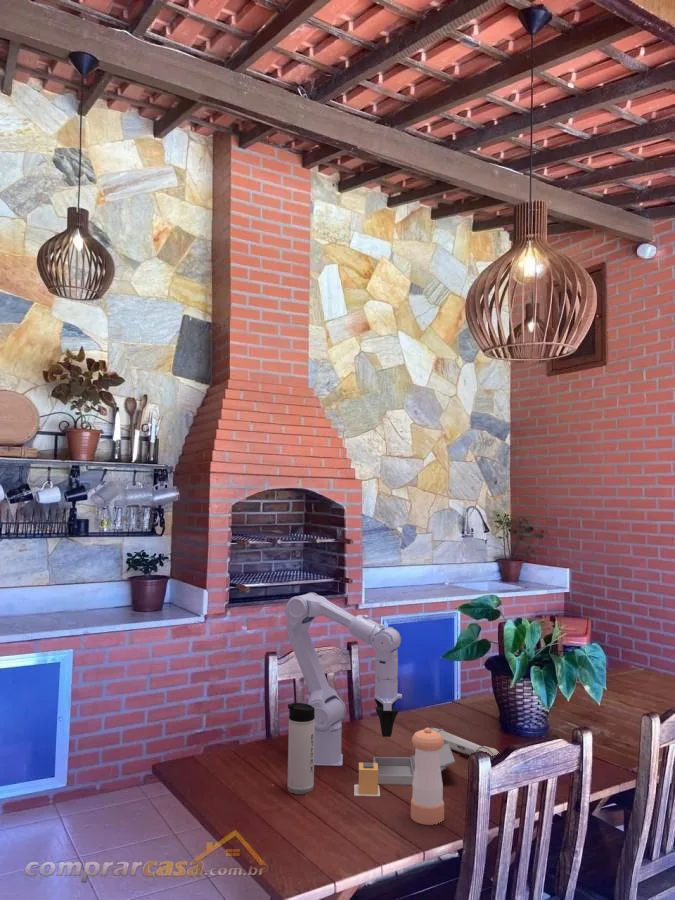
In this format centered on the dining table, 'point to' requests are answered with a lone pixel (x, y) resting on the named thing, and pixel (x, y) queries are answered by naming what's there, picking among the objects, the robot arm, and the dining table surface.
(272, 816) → the dining table surface
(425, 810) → the pepper shaker
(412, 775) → the case
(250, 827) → the dining table surface
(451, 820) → the dining table surface
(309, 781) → the travel mug
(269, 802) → the dining table surface
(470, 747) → the white elongated piece
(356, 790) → the mat
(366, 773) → the block
